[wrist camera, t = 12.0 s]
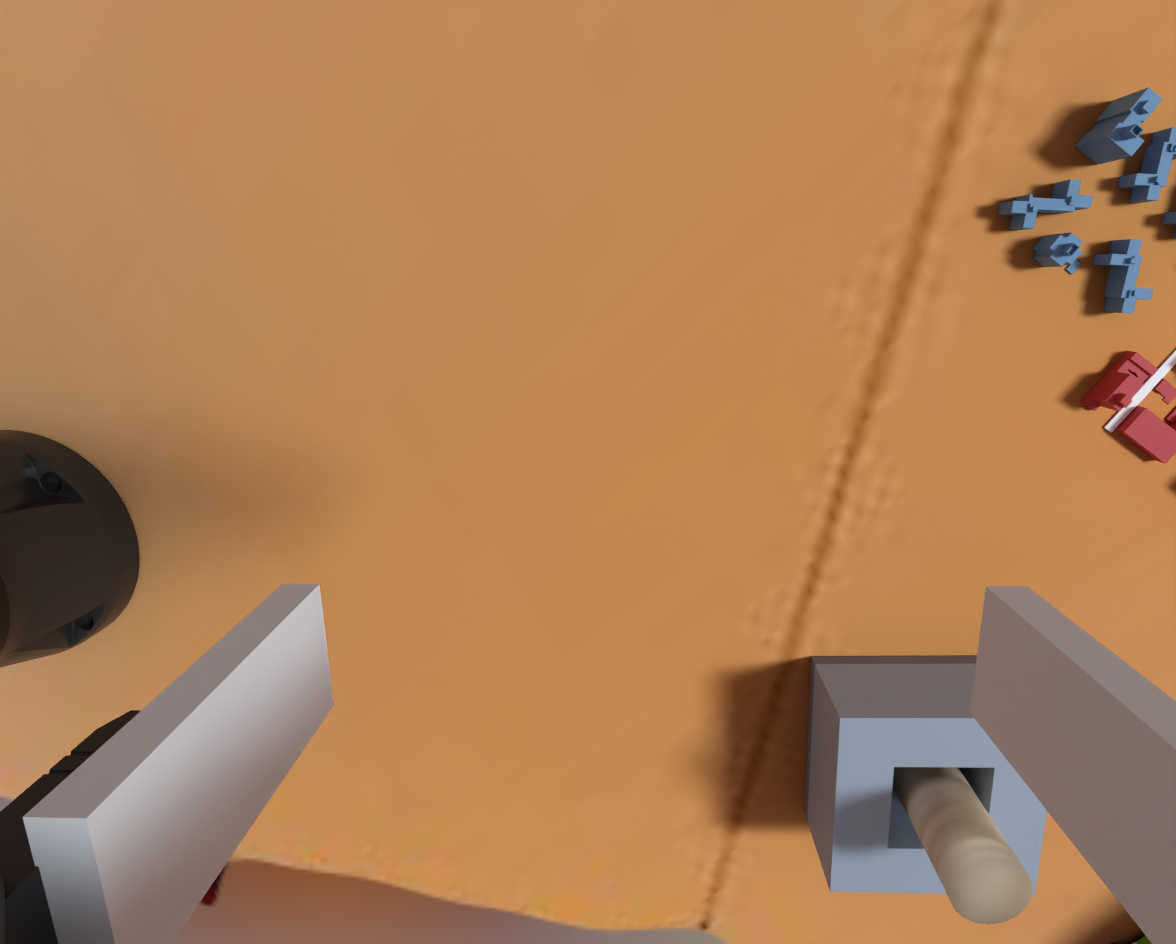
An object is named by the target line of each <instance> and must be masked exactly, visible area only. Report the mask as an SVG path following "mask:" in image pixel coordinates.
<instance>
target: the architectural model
mask: <svg viewBox="0 0 1176 944" xmlns="http://www.w3.org/2000/svg"><path fill="white" fill-rule="evenodd" d="M1162 100H1163V99H1162V98H1161V97H1159V96H1158V95H1157V94H1156V93H1155V92H1153V91H1152V90H1151V89H1150V88H1146V89H1143V90H1140V91H1138V92H1135V93H1132V94H1130V95H1127V96H1124V97H1121V98H1119V99H1116V100H1113V101H1112V102H1111V103H1110V104H1109V105H1108V107H1107V108H1106V109H1105V110H1104V111H1103V113H1102V114H1101V115H1100V116H1099V118H1098V119H1097V120H1096V121H1095V122H1096V123H1097V124H1096V125H1095V126H1094V128H1093V129H1092V130H1091V131H1090V132H1088V133H1086V134H1085V135H1084V136H1083V137H1082V138H1081V140H1080V141H1079V142H1078V143H1077V144H1076V146H1075V147H1076V148H1077V149H1079V150H1080V151H1081V152H1082V153H1083V154H1085V155H1086V156H1087V157H1088V158H1090V159H1091V160H1092V161H1093V162H1094V163H1096V164H1097V165H1098V164H1102V163H1106V162H1110V161H1114V160H1118V159H1123V158H1127V157H1131V156H1132V155H1133V154H1134V153H1135V152H1136V150H1137V149H1138V148H1139V147H1140V146H1141V145H1142V143H1143V142H1144V140H1143V139H1142V138H1140V137H1139V134H1140V133H1141V132H1142V131H1143V130H1144V129H1143V128H1142V127H1140V126H1139V124H1140V123H1141V122H1144V121H1145V120H1146V119H1147V117H1148V116H1149V115H1150V114H1151V113H1152V111H1153V110H1154V109H1155V108H1156V107H1157V106H1158V104H1159V103H1160V102H1161V101H1162ZM1172 159H1176V128H1169V129H1165V130H1161V131H1158V132H1154V135H1153V139H1152V143H1151V145H1150V146H1147V147H1146V151H1145V155H1144V160H1143V164H1142V168H1141V173H1136V174H1131V175H1126V176H1121V177H1120V180H1119V184H1118V188H1132V194H1131V198H1130V202H1135V203H1142V202H1149V201H1156V200H1158V197H1159V193H1160V189H1161V187H1164V186H1166V182H1167V178H1168V174H1169V170H1170V165H1171V161H1172ZM1080 184H1081V180H1067V181H1062V182H1058V183H1055V184H1054V189H1053V194H1052V198H1034V197H1033V194H1029V195H1024V196H1019V197H1016V200H1015V201H1009V202H1004V203H1000V206H999V212H998V215H1009V216H1012V218H1011V223H1010V228H1009V229H1011V230H1023V229H1032V228H1034V225H1035V220H1036V216H1037V213H1054V214H1060V213H1067V212H1074V211H1075V210H1080V209H1086V208H1090V207H1091V203H1092V198H1093V196H1084V195H1078V193H1079V189H1080ZM1163 224H1176V212H1168V213H1165V215H1164V219H1163ZM1174 238H1176V231H1175V235H1174ZM1082 242H1083V241H1081V240H1080V239H1079V238H1078V237H1076V236H1075V235H1074V234H1073V233H1064V234H1054V235H1052V236H1043V237H1042V238H1041V239H1040V240H1039V241H1038V243H1037V244H1036V245H1035V246H1034V247H1033V248H1032V249H1033V250H1034V251H1035V253H1036V255H1035V256H1034V257H1033V259H1035V260H1036V261H1037V262H1038V263H1040V264H1041V265H1042V266H1043V267H1058V266H1063V265H1069V266H1068V267H1067V268H1066V269H1065V270H1066V271H1068V272H1069V273H1070V274H1073V273H1074V272H1075V271H1076V269H1077V268H1078V267H1079V266H1080V265H1081V263H1080V262H1078V261H1077V260H1076V258H1077V257H1078V256H1079V255H1080V254H1081V253H1082V252H1083V251H1081V250H1080V249H1079V246H1080V244H1081V243H1082ZM1141 242H1142V240H1134V239H1128V240H1115V241H1112V244H1111V248H1110V253H1109V254H1098V255H1095V257H1094V261H1093V265H1102V266H1111V268H1110V272H1109V276H1108V281H1107V285H1106V289H1105V293H1104V297H1107V301H1106V305H1105V310H1104V312H1117V313H1131V314H1133V311H1134V307H1135V303H1136V299H1144V300H1151V296H1152V293H1153V289H1143V288H1134V287H1135V283H1136V279H1137V275H1138V271H1139V267H1140V263H1141V259H1142V256H1139V255H1138V254H1139V250H1140V246H1141ZM1175 364H1176V350H1175V351H1174V352H1173V353H1172V354H1171V355H1170V356H1169V357H1168V358H1167V359H1166V360H1165V361H1164V362H1163V364H1162V365H1161V366H1160V367H1159V368H1156V367H1155V366H1154V365H1152V364H1151V363H1150V362H1149V361H1147V360H1146V359H1145V358H1143V357H1142V356H1141V355H1139V354H1138V353H1137V352H1131V351H1126V352H1125V353H1124V354H1123V355H1122V357H1121V358H1120V359H1119V360H1118V361H1117V362H1116V363H1115V364H1114V366H1113V367H1112V368H1111V369H1110V370H1109V371H1108V372H1107V373H1106V374H1105V375H1104V376H1103V378H1102V379H1101V380H1100V381H1099V382H1098V383H1097V384H1096V385H1095V386H1094V387H1093V388H1092V389H1091V390H1090V392H1089V393H1088V394H1087V395H1086V396H1085V397H1084V398H1083V399H1082V400H1081V402H1082V403H1083V404H1085V405H1086V406H1087V407H1089V408H1090V409H1091V410H1094V411H1096V409H1097V408H1098V407H1099V406H1102V407H1106V408H1110V409H1113V410H1117V411H1118V412H1117V413H1116V414H1115V415H1114V416H1113V418H1112V419H1111V420H1110V421H1109V422H1108V423H1107V424H1106V425H1105V426H1104V428H1105V429H1106V430H1108V431H1109V432H1111V433H1112V432H1113V431H1114V429H1115V430H1117V431H1118V432H1119V433H1121V434H1122V435H1123V436H1124V437H1126V438H1127V439H1128V440H1130V441H1131V442H1132V443H1134V444H1135V445H1136V446H1138V447H1139V448H1140V449H1142V450H1143V451H1144V452H1145V453H1147V454H1148V455H1149V456H1151V457H1152V458H1153V459H1155V460H1157V461H1159V462H1162V463H1166V462H1167V461H1168V460H1169V459H1170V458H1171V457H1172V456H1173V455H1174V454H1175V453H1176V407H1175V408H1174V410H1173V411H1172V412H1171V413H1170V414H1169V415H1168V416H1167V417H1166V418H1165V419H1166V420H1168V421H1169V422H1170V423H1171V424H1170V425H1167V424H1166V423H1165V422H1163V421H1162V420H1161V419H1160V418H1158V417H1157V416H1156V415H1154V414H1153V413H1152V412H1151V411H1149V410H1148V409H1147V408H1144V407H1140V406H1137V405H1138V404H1139V403H1140V402H1141V401H1142V400H1143V399H1144V397H1145V396H1146V395H1147V394H1148V393H1149V392H1150V391H1151V390H1152V389H1154V390H1156V391H1157V392H1158V393H1160V394H1161V395H1162V396H1164V398H1163V399H1162V400H1163V401H1164V402H1166V403H1167V404H1169V403H1170V402H1171V401H1172V400H1173V399H1174V398H1175V396H1176V389H1175V388H1174V387H1173V386H1172V385H1170V383H1169V382H1168V381H1166V380H1165V379H1162V378H1163V377H1164V376H1165V375H1166V374H1167V372H1168V371H1169V370H1170V369H1171V368H1172V367H1173V366H1174V365H1175ZM1149 375H1151V376H1150V377H1149V379H1148V380H1147V381H1146V382H1145V383H1144V384H1143V382H1144V381H1145V379H1146V378H1147V377H1148V376H1149ZM1156 384H1157V385H1156Z"/></svg>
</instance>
